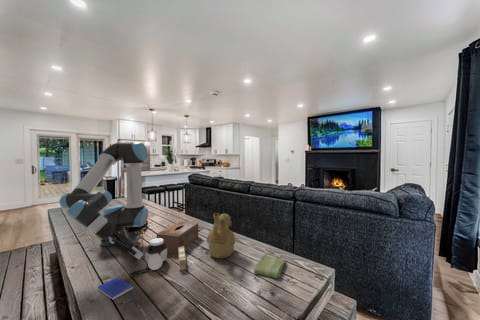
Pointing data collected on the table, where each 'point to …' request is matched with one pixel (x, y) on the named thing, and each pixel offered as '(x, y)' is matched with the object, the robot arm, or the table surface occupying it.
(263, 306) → the table surface
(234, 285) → the table surface
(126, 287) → the hard drive
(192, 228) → the tissue box cover
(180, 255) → the ash stop
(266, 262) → the washcloth
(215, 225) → the ceramic vessel
